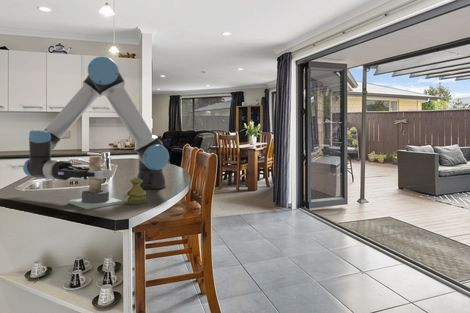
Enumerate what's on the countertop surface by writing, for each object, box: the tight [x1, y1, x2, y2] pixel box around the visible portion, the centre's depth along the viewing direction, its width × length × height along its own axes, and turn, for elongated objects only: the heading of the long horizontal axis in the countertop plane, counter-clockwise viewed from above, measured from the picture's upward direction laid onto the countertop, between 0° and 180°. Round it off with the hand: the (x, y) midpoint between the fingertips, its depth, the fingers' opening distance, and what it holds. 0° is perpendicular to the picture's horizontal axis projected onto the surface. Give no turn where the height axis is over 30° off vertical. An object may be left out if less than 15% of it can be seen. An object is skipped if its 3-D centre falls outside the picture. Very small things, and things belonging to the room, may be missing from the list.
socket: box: [68, 188, 123, 210], centre depth 123 cm, size 14×14×4 cm
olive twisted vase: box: [125, 176, 147, 205], centre depth 126 cm, size 7×7×10 cm
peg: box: [88, 155, 102, 193], centre depth 122 cm, size 4×4×16 cm
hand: (107, 174), depth 120 cm, fingers closed on peg, 4 cm apart
